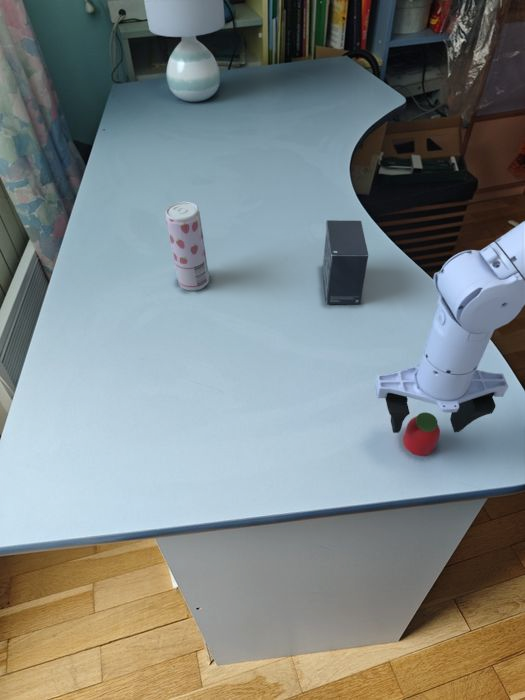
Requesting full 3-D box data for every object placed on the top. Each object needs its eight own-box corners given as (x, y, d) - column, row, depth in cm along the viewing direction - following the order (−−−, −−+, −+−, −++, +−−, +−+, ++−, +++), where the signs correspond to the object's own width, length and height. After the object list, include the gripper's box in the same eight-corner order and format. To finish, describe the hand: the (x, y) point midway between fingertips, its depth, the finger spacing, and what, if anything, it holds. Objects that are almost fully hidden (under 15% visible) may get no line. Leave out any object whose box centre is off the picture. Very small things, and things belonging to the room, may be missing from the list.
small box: (362, 305, 84) (370, 255, 76) (325, 305, 84) (329, 256, 77) (356, 267, 91) (362, 218, 84) (321, 268, 92) (324, 219, 84)
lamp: (241, 88, 157) (231, -78, 127) (211, 114, 143) (192, -65, 114) (182, 81, 163) (160, -79, 133) (148, 105, 149) (115, -67, 120)
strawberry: (431, 429, 67) (439, 406, 63) (438, 455, 64) (447, 434, 60) (400, 429, 67) (407, 407, 63) (406, 456, 64) (413, 434, 60)
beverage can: (183, 271, 92) (170, 199, 81) (212, 273, 91) (203, 201, 81) (175, 290, 88) (159, 218, 78) (205, 293, 88) (194, 220, 77)
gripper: (390, 384, 50) (372, 453, 60) (533, 382, 49) (491, 452, 59) (379, 335, 55) (364, 407, 65) (510, 333, 54) (474, 406, 64)
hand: (424, 426), depth 62 cm, fingers open, 7 cm apart
